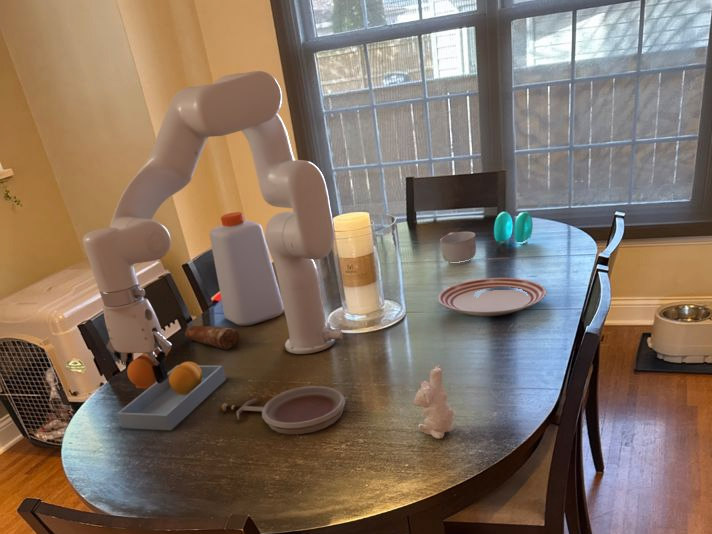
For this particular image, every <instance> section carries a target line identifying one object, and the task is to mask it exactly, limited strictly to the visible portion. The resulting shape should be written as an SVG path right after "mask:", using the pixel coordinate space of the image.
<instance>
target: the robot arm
mask: <svg viewBox="0 0 712 534" xmlns="http://www.w3.org/2000/svg"><path fill="white" fill-rule="evenodd" d="M282 93H283V92H282V89H281V86H280V85H279V82H278V81H277V79H276V78H275V77H274V76H273V75H272V74H270V73H269V72H266V71H262V70H256V71H255V70H254V71H248V72H239V73H234V74H232V73H231V74H227V75H224V76H221V77H219V78H218V79H216V80H215V81H214V82H213V83H210V84H204V85H197V86H188V87H184V88H182V89H180V90H178V91H177V92H176V93H174V95H173V96H172V98H171V100H170V102H169V105H168V107H167V109H166V112H165V115H164V118H163V120H162V122H161V125H160V128H159V130H158V133H157V136H156V138H155V141H154V143H153V146H152V148H151V150H150V153H149V155H148V157H147V160H146V161H145V162H144V163H143V164H142V165H141V166H140V168H139V169H138V171H137V172H136V174H134V176H133V178H132V179H131V180H130V181H129V183H128V184H127V185H126V187H125V189H124V190H123V192H122V194H121V196H120V197H119V199H118V202H117V205H116V207H115V210H114V212H113V215H112V218H111V221H110V223H109V227H103V228H98V229H95V230H91V231H89V232H87V233H85V234H84V235H83V238H82V245H83V248H84V252H85V254H86V256H87V259H88V262H89V265H90V268H91V271H92V274H93V277H94V279H95V283H96V286H97V289H98V291H99V294H100V297H101V299H102V303H103V305H102V311H103V318H104V323H105V327H106V330H107V334H108V338H109V340H108V342H107V344H106V346H105V347H106V349H107V351H108V352H110V353H112V354H113V355H114V356H115V358H117V360H119V361H120V363H121V365H122V366H125V369H126V370H127V369H128V366H129V364H130V363H131V362H132V361H133V360H135V359H136V358H134V357H135V355H134V354H143V353H147V355H148V356H149V358H150V359H151V361H152V362H153V364H154V365H153V366H152V368H153V371H154V374H155V377H156V381H157V383H162V382H163V381H165V380H166V379H167V378H168V375H167V373H168V371H167V368H166V364H165V361H166V360H167V359H166V358H167V356H168V354H169V353H170V351H171V349H172V348H173V344H172V343H171V342H170V341H169V340H167V339H166V338H165V336H164V332H163V330H162V326H161V324H160V322H159V319H158V317H157V314H156V312H155V310H154V308H153V306H152V304H151V302H150V301H149V299H148V298H145V296H146V291H145V289H144V288H141V285H140V282H139V279H138V276H137V273H136V269H135V267H134V265H135V264H142V263H148V262H153V261H154V262H155V261H159V260H160V259H162V258H163V257H165V256H166V255H167V254H168V253H169V251H170V249H171V245H172V238H171V233H170V232H169V230H168V228H166V226H165V225H163V224H162V223H161V222H158V221H157V220H154V219H153V218H154V216H155V214H156V213H157V211H158V210H159V208H160V207H161V206H162V204H164V202H165V201H167V200H168V199H170V197H172V196H174V195H176V194H177V193H178V192H181V190H183V189H184V188H186V187H187V186H188V185H189V184H190V183H191V181H192V180H193V177H194V174H195V171H196V169H197V165H198V164H199V161H200V158H201V156H202V153H203V151H204V148H205V146H206V143H207V141H208V139H209V138H210V137H212V138H213V137H223V136H227V135H231V134H235V133H237V132H242V134H243V136H244V137H245V138H246V139H245V140H246V141H247V143H248V145H249V149H250V152H251V156H252V159H253V160H252V161H253V164H254V168H255V172H256V176H257V181H258V186H259V190H260V193H261V196H262V198H263V200H264V201H265V202H266V203H267V204H268V205H270V206H272V207H276V208H284V209H285V208H286V209H292V211H282V212H278V213H275V214H274V215H272V216H271V217H270V218H269V220H268V221H267V223H266V226H265V228H264V229H265V233H264V237H265V241H266V244H267V248H268V252H269V255H270V257H271V260H272V262H273V265H274V268H275V272H276V276H277V277H276V278H277V282H278V288H279V291H280V295H281V299H282V302H283V307H284V311H283V313H284V316H285V321H286V326H287V331H288V337H289V338H288V339H287V340H286V341H285V343H284V347H285V350H286V351H287V352H288V353H291V354H295V355H308V354H314V353H320V352H321V351H325V350H326V349H328V348H330V347H332V346H333V345H334V344H335V343H336V340H343V337H344V333H343V331H342V329H341V328H332V327H331V323H330V322H327V320H326V314H325V310H324V302H323V296H322V292H321V286H320V279H319V272H318V269H317V265H316V263H315V260H322V259H324V258H326V257H328V255H329V254H330V253H331V251H332V250H333V247H334V244H335V227H334V221H333V215H332V210H331V204H330V199H329V198H330V197H329V192H328V188H327V187H328V186H327V184H326V181H325V180H326V179H325V178H324V175H323V173H322V172H321V170H320V168H319V167H318V166H317V165H315V163H313V162H312V161H309V160H304V159H295V156H294V153H293V149H292V145H291V142H290V138H289V133H288V131H287V128H286V126H285V123H284V122H283V119H282V118H281V116H280V115H279V114H278V113H279V112H280V109H281V107H282V102H283V95H282ZM154 353H156V355H157V357H156V355H155V354H154ZM130 383H131V384H133V383H132V382H131V381H130Z"/></svg>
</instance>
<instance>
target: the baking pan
mask: <svg viewBox="0 0 712 534" xmlns="http://www.w3.org/2000/svg"><path fill="white" fill-rule="evenodd" d="M179 365H180V364H177V365H175V366H174V367H173V368H172V369H170V370H169V371H167V375H168V378H167V379H166V380H165V381H163V382H162V383H157V382H156V383H154V384H153V385H152V386H151V387H149V388H146V390H144V391H143V392H142V393H140V394H139V395H138V396H136V397H135V398H134V399H133V400H132V401H130V402H129V403H128V404H127V405H125V406H124V407H123V408H122V409H120V410H119V411H118V412H117V413H116V416H117V418H118V421H119V424H120V427H121V429H132V430H150V431H151V430H152V431H153V430H154V431H157V430H158V431H172V430H174V429H175V428H176V427H177V426H178V425H179V424H180V423H181V422H182V421H184V420H185V418H187V417H188V415H190V414H191V413H192V412H193V411H194V410H195V409H196V408H197V407H198V406H199V405H201V404H202V403H203V402H204V401H205V400H206V399H207V398H208V397H209V396H210V395H211V394H212V393H213V392H214V391H215V390H217V388H219V387H220V386H221V385H222V384H223V383H224V382H225V381H227V378H226V374H225V370H224V366H223V365H202V364H201V365H200V364H199V365H198V364H197V365H198V366H199V367H200V368H201V371H202V379H201V383H200V384H199V385H198V386H197V387H196V388H195V389H193V390H192V391H191V392H190V393H189V394H188V395H181V394H177V393H176V391H175V390H174V389H173V388H172V387H171V385H170V382H169V377H170V374H171V372H172V371H173V370H174V369H175V368H177V367H178V366H179Z"/></svg>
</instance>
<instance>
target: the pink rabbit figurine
mask: <svg viewBox="0 0 712 534" xmlns="http://www.w3.org/2000/svg"><path fill="white" fill-rule="evenodd" d="M442 373H443V370H442V368H441V365H435V366H434V368H432V369H430V373H429V382H428V381H426V380H424V381H422V382H421V386H420V388H419V389H418V391H417V392H416V394H415V397H414V400H413V402H412V403H413V405H414V406H416V407H422V413H423V414H424V415H425V416H426V418H424V420H423V423H419V424H418V425H417V427H418V429H419V430H421V431H422V432H423V433H424V434H425V435H427V436H428V435H429V436H432V437H433V438H434V439H438V440H441V439H443V437H444V436H445V433H447V432H452V431H454V427H452V424H453V419H454V416H455V415H454V410H453V408H452V407H451V406H450V404H447V402H446V401H447V400H448V394H447V391H446V390H445V388H444V387H443V374H442Z"/></svg>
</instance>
